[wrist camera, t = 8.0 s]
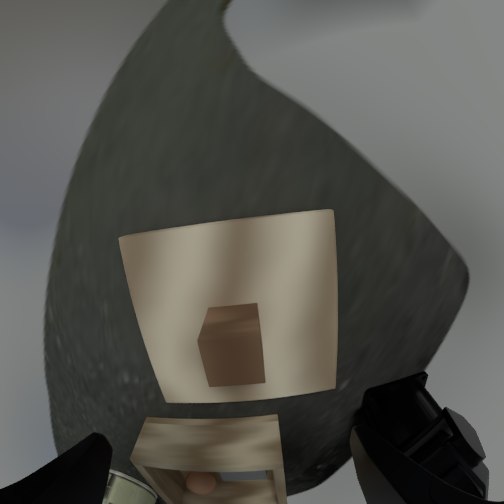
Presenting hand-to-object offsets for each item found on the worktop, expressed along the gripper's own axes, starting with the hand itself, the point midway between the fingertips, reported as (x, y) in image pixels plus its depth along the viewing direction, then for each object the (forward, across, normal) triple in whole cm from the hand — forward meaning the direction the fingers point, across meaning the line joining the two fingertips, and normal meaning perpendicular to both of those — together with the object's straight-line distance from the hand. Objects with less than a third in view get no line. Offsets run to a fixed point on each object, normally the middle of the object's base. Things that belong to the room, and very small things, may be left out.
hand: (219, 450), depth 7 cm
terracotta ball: (+10, +6, +19) cm, 22 cm away
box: (+11, +4, +16) cm, 20 cm away
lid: (+11, 0, 0) cm, 11 cm away
